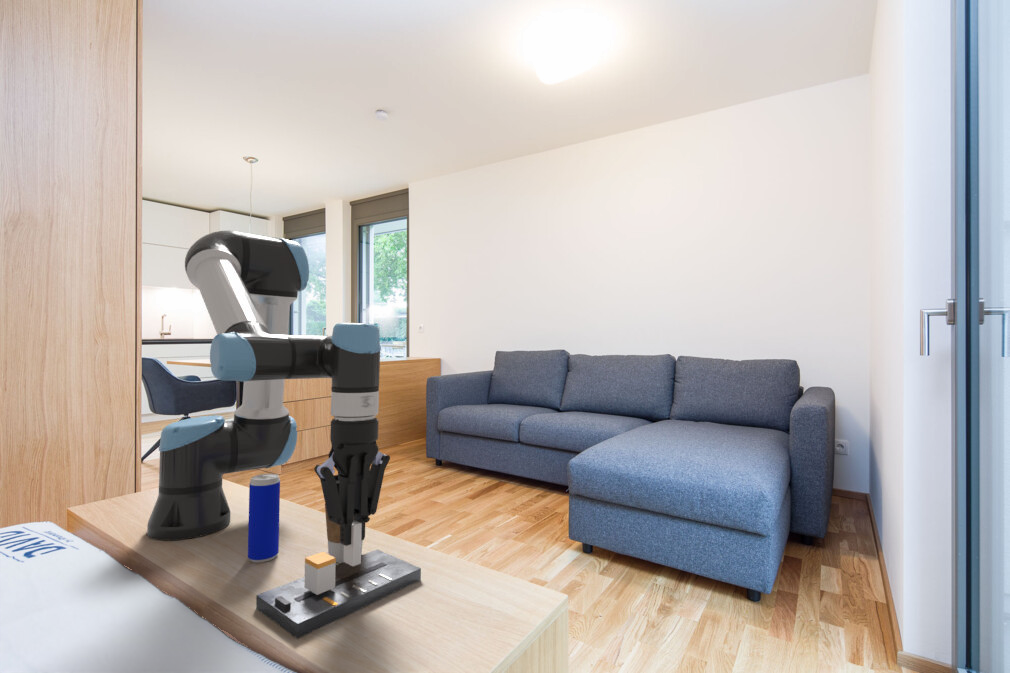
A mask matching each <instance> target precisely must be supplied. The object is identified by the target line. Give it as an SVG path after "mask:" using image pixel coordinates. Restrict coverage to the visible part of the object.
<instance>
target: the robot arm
mask: <svg viewBox="0 0 1010 673" xmlns="http://www.w3.org/2000/svg"><path fill="white" fill-rule="evenodd" d="M184 271H185V273H186V275H187V278H188V280H189V282H190V283H191V284H192V286H194V287H195V288H197V289H198V290H199V293H200V295H201V297H202V300H203V303H204V305H205V308H206V310H207V313H208V315H209V317H210V320H211V322H212V325H213V327H214V330H215V332H216V335H215V336H214V337H213V338H212V341H211V345H210V349H209V350H210V351H209V352H210V353H209V361H210V362H209V363H210V369H211V373H212V375H213V376H214V377H215V379H217V380H218V381H223V382H225V381H227V382H229V381H236V382H243V387H242V388H243V389H242V404H241V405H240V406H239V407H237V408H236V409H235V410H234V412H233V420H228V421H226V419H225V418H224V416H223V415H219V414H215V415H214V414H213V415H204V416H202V415H201V416H196V417H191V418H186V419H181V420H178V421H174V422H172V423H169V424H168V425H166V426H165V427H164V428H162V430H161V433H160V439H159V440H160V441H159V447H158V451H159V466H158V467H159V470H158V472H159V475H158V476H159V477H158V495H157V498H156V500H155V504H154V505H153V509H152V511H151V513H150V516H149V518H148V521H147V526H146V527H147V529H146V534H147V537H149V538H151V539H153V540H159V541H178V540H180V541H181V540H186V539H192V538H198V537H202V536H205V535H209V534H212V533H215V532H218V531H220V530H222V529H225V528H226V527H227V526H228V525H230V523H231V509H230V506H229V503H228V500H227V497H226V494H225V492H224V489H223V476H224V475H225V474H232V473H239V472H247V471H252V470H259V469H270V468H273V467H277V466H281V465H284V464H286V463H287V462H288V461H289V460H290V459H291V458H292V456H293V454H294V452H295V449H296V446H297V441H298V430H297V427H298V426H297V422H296V419H295V418H294V417H292V416H290V410H289V409H288V408H287V407H286V406H285V405H284V392H285V382H286V381H285V380H306V379H307V380H308V379H331V389H330V390H331V396H330V397H331V398H330V401H331V402H330V416H332V417H333V418H332V420H331V421H330V437H329V439H330V444H331V448H330V451H329V452H328V458H327V459H326V460H325V461H324V462H322V464H316V465H315V466H314V472H315V474H316V475H317V476H318V478H319V480H320V484H321V489H322V494H323V499H324V505H325V504H326V509H327V514H328V518H329V521H331V522H333V523H336V524H338V525H340V542H341V544H343V545H344V560H343V562H345V563H347V564H349V565H351V566H356V565H358V564H361V555H362V554H361V540H363V541H364V540H365V538H366V523H369V522H370V519H371V517H370V516H371V515H372V516H373V515H375V514H376V513H377V510H378V505H379V499H380V495H381V490H382V487H383V486H382V485H383V481H384V477H385V471H386V469H387V466H388V464H389V463H390V460H391V456H390V455H389V454H385V453H382V452H381V451H379V446H378V444H377V440H378V439H379V424H380V423H379V421H380V420H379V419H378V418H377V417H375V416H377V415H378V414H379V407H380V406H379V404H380V403H379V402H380V400H379V398H380V389H379V388H380V372H381V371H380V370H381V369H380V368H381V364H380V363H381V350H382V345H381V342H380V336H381V335H380V328H379V327H378V326H377V325H376V324H373V323H360V322H357V323H356V322H339V323H336V324H334V326H333V328H332V334H331V335H312V334H311V335H310V334H307V335H305V334H304V335H303V334H302V335H301V334H289V322H290V306H291V304H293V303H294V302H295V301H296V300H298V297H299V296H298V293H299V292H301V291H304V290H306V288H307V287H308V282H309V279H310V278H309V277H310V265H309V259H308V255H307V253H306V251H305V249H304V247H303V245H301V244H300V243H298V242H297V241H295V240H289V239H287V238H286V239H285V238H283V237H275V236H268V235H267V236H266V235H260V234H253V233H247V232H240V231H236V230H235V231H234V230H219V231H213V232H211V233H208V234H206V235H204V236H201V237H200V238H198V239H197V240H196V241H195V242H194V243H193V244H192V245H191V246H190V247H189V249H188V251H186V255H185V259H184ZM335 470H336V471H337V475H338V480H339V494H338V489H337V484H336V480H335V477H334V474H335V473H336V471H335Z"/></svg>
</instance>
